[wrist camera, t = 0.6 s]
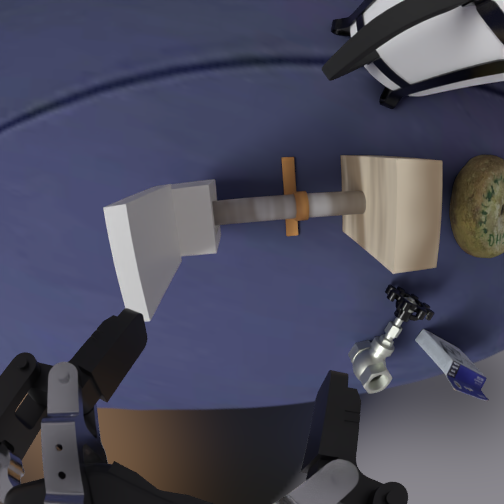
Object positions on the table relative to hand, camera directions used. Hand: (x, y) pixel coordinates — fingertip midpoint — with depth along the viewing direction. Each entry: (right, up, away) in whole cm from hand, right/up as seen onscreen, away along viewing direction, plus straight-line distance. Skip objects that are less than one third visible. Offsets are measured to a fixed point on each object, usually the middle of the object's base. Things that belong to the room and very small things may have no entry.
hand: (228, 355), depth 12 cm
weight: (+31, +11, +19) cm, 38 cm away
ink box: (+29, -10, +26) cm, 40 cm away
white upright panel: (-4, +8, +15) cm, 18 cm away
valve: (+17, -5, +24) cm, 30 cm away
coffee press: (+15, +25, +14) cm, 33 cm away
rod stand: (+3, +10, +18) cm, 21 cm away
